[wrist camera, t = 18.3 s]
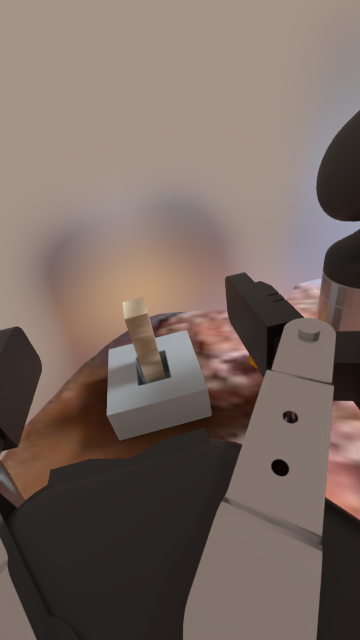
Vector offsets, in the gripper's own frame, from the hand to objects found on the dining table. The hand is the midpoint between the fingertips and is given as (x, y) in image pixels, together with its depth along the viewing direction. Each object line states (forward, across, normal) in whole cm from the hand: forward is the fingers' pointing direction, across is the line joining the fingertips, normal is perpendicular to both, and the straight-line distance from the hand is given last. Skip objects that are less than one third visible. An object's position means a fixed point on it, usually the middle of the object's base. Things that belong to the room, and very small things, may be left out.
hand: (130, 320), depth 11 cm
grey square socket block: (+23, +2, +30) cm, 38 cm away
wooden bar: (+23, +2, +29) cm, 37 cm away
